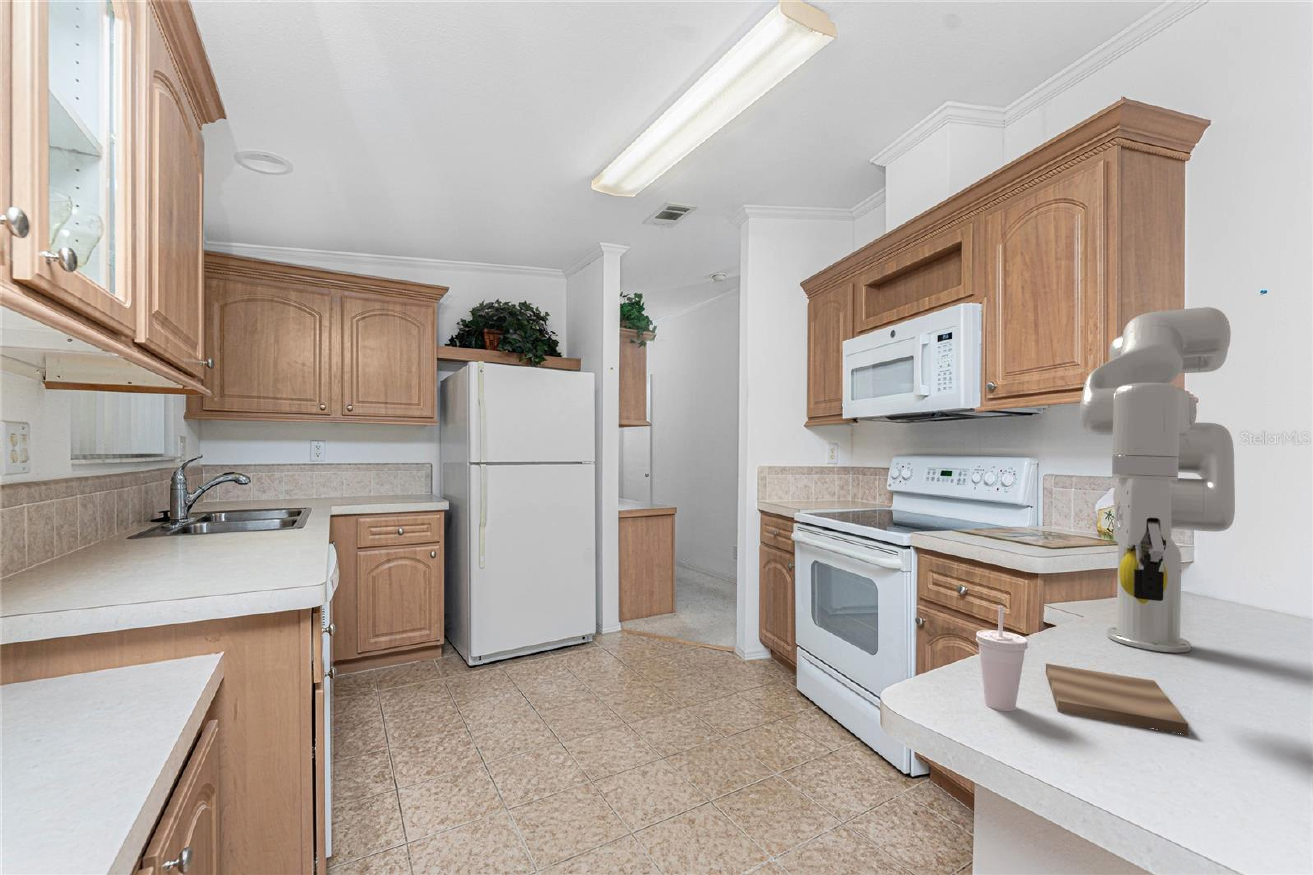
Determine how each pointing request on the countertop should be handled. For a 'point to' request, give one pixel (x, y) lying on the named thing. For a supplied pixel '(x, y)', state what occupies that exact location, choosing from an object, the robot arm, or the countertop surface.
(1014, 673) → the smoothie
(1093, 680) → the cutting board
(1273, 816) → the countertop surface
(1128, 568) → the lemon
